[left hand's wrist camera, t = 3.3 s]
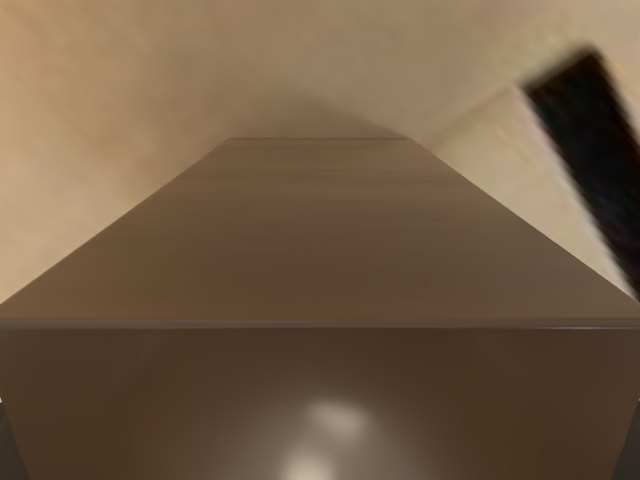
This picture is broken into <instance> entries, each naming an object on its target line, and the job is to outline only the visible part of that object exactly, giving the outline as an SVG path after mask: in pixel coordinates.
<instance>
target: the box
mask: <svg viewBox="0 0 640 480" xmlns="http://www.w3.org/2000/svg"><path fill="white" fill-rule="evenodd" d="M0 397H1V400H2V403H3V406H4V409H5V412H6V415H7V418H8V420H9V423H10V426H11V429H12V432H13V435H14V438H15V440H16V443H17V446H18V449H19V452H20V455H21V458H22V461H23V463H24V466H25V469H26V472H27V475H28V478H29V480H612V477H613V474H614V471H615V468H616V465H617V462H618V460H619V457H620V454H621V451H622V448H623V445H624V442H625V440H626V437H627V434H628V431H629V428H630V425H631V422H632V419H633V417H634V414H635V411H636V408H637V405H638V402H639V399H640V304H639V303H638V302H637V301H635V300H634V299H633V298H631V297H630V296H628V295H627V294H626V293H624V292H623V291H621V290H620V289H619V288H617V287H616V286H615V285H613V284H612V283H610V282H609V281H608V280H606V279H605V278H603V277H602V276H601V275H599V274H598V273H597V272H595V271H594V270H592V269H591V268H590V267H588V266H587V265H585V264H584V263H583V262H581V261H580V260H578V259H577V258H576V257H574V256H573V255H572V254H570V253H569V252H567V251H566V250H565V249H563V248H562V247H560V246H559V245H558V244H556V243H555V242H554V241H552V240H551V239H549V238H548V237H547V236H545V235H544V234H542V233H541V232H540V231H538V230H537V229H536V228H534V227H533V226H531V225H530V224H529V223H527V222H526V221H524V220H523V219H522V218H520V217H519V216H517V215H516V214H515V213H513V212H512V211H511V210H509V209H508V208H506V207H505V206H504V205H502V204H501V203H499V202H498V201H497V200H495V199H494V198H493V197H491V196H490V195H488V194H487V193H486V192H484V191H483V190H481V189H480V188H479V187H477V186H476V185H475V184H473V183H472V182H470V181H469V180H468V179H466V178H465V177H463V176H462V175H461V174H459V173H458V172H457V171H455V170H454V169H452V168H451V167H450V166H448V165H447V164H445V163H444V162H443V161H441V160H440V159H438V158H437V157H436V156H434V155H433V154H432V153H430V152H429V151H427V150H426V149H425V148H423V147H422V146H420V145H419V144H418V143H416V142H415V141H414V140H412V139H228V140H227V141H225V142H224V143H223V144H221V145H220V146H218V147H217V148H216V149H214V150H213V151H211V152H210V153H209V154H207V155H206V156H205V157H203V158H202V159H200V160H199V161H198V162H196V163H195V164H193V165H192V166H191V167H189V168H188V169H187V170H185V171H184V172H182V173H181V174H180V175H178V176H177V177H176V178H174V179H173V180H171V181H170V182H169V183H167V184H166V185H164V186H163V187H162V188H160V189H159V190H158V191H156V192H155V193H153V194H152V195H151V196H149V197H148V198H146V199H145V200H144V201H142V202H141V203H140V204H138V205H137V206H135V207H134V208H133V209H131V210H130V211H128V212H127V213H126V214H124V215H123V216H122V217H120V218H119V219H117V220H116V221H115V222H113V223H112V224H110V225H109V226H108V227H106V228H105V229H104V230H102V231H101V232H99V233H98V234H97V235H95V236H94V237H93V238H91V239H90V240H88V241H87V242H86V243H84V244H83V245H81V246H80V247H79V248H77V249H76V250H75V251H73V252H72V253H70V254H69V255H68V256H66V257H65V258H63V259H62V260H61V261H59V262H58V263H57V264H55V265H54V266H52V267H51V268H50V269H48V270H47V271H45V272H44V273H43V274H41V275H40V276H39V277H37V278H36V279H34V280H33V281H32V282H30V283H29V284H27V285H26V286H25V287H23V288H22V289H21V290H19V291H18V292H16V293H15V294H14V295H12V296H11V297H9V298H8V299H7V300H5V301H4V302H3V303H1V304H0Z"/></svg>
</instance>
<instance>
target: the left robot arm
mask: <svg viewBox="0 0 640 480" xmlns="http://www.w3.org/2000/svg"><path fill="white" fill-rule="evenodd" d="M0 480H29V478H28V475H27V472H26V469H25V466H24V463H23V461H22V458H21V455H20V452H19V449H18V446H17V443H16V440H15V438H14V435H13V432H12V429H11V426H10V423H9V420H8V418H7V415H6V412H5V409H4V406H3V403H2V402H1V403H0ZM612 480H640V401H639V402H638V405H637V408H636V411H635V414H634V417H633V419H632V422H631V425H630V428H629V431H628V434H627V437H626V440H625V442H624V445H623V448H622V451H621V454H620V457H619V460H618V462H617V465H616V468H615V471H614V474H613V477H612Z"/></svg>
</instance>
